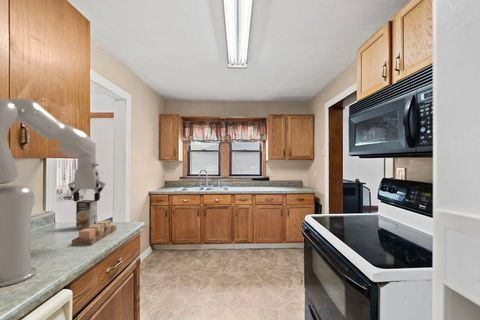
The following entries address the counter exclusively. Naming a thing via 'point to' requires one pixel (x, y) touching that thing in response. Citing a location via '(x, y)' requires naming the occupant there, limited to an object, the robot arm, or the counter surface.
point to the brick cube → (87, 233)
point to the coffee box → (86, 214)
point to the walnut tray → (91, 241)
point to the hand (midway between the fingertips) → (86, 200)
